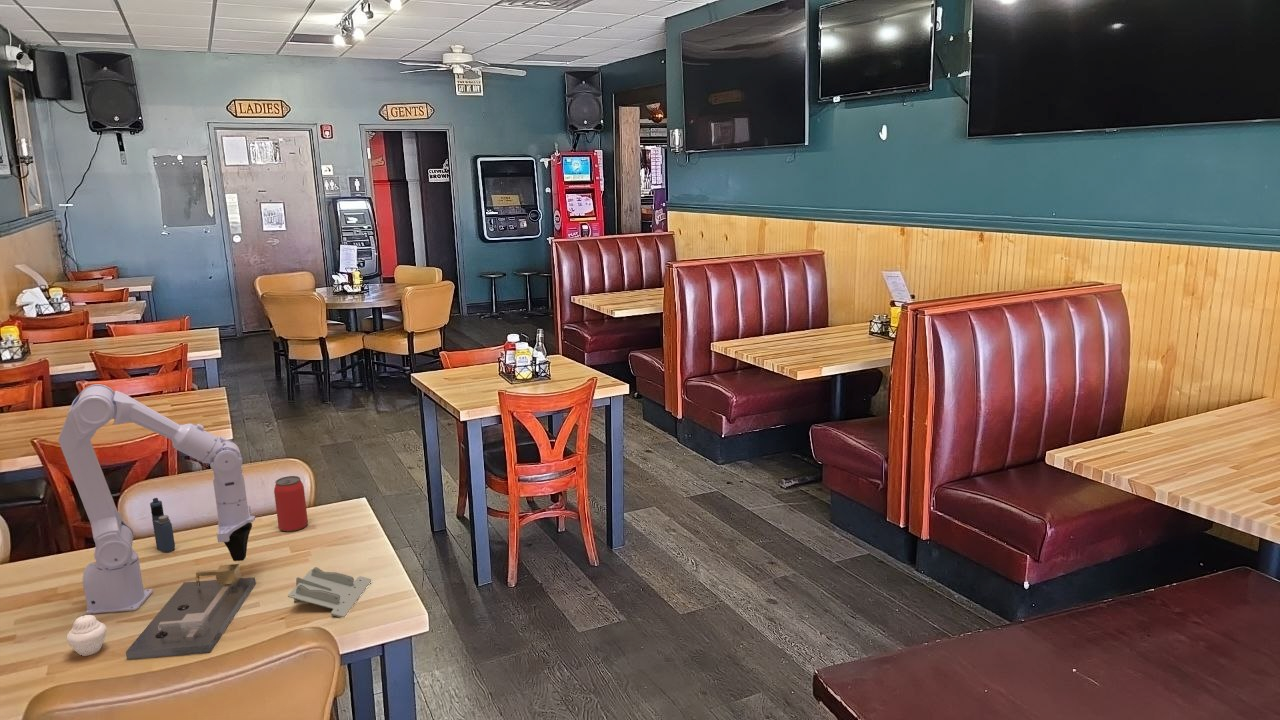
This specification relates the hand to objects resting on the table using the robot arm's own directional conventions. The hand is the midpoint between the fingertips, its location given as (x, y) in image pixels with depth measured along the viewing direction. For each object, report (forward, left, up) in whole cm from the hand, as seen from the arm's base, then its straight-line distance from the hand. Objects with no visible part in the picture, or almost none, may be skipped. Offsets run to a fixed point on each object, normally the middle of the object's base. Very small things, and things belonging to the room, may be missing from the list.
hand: (239, 559), depth 180 cm
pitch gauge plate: (-3, -17, -4) cm, 18 cm away
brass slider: (-2, -7, -2) cm, 7 cm away
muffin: (-18, -26, -4) cm, 32 cm away
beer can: (+4, +25, -4) cm, 26 cm away
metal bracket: (+21, -13, -5) cm, 25 cm away
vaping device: (-22, +17, -4) cm, 28 cm away
